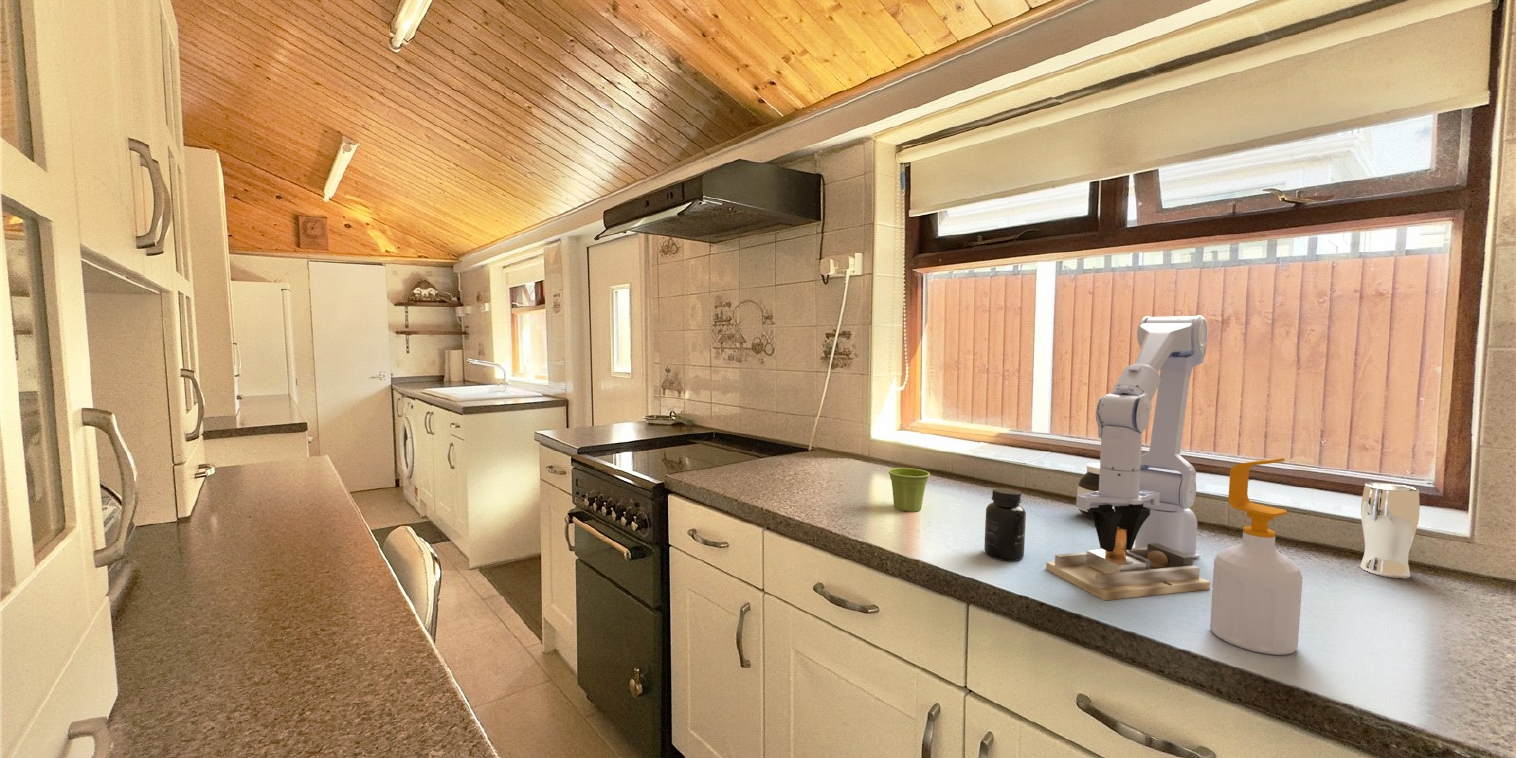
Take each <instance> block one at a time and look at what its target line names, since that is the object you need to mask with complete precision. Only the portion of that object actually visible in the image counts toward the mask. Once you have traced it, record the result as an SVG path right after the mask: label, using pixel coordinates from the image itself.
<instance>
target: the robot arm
mask: <svg viewBox="0 0 1516 758" xmlns="http://www.w3.org/2000/svg"><path fill="white" fill-rule="evenodd" d="M1207 322H1208V321H1207V319H1206V318H1205V317H1204V316H1202V315H1200V314H1198V315H1195V316H1189V315H1188V316H1149V315H1147V316H1144V317H1143V318H1142V319H1141V320H1140V321H1139V323H1138V326H1137V331H1136V332H1137V333H1136V337H1137V338H1136V339H1137V342H1138V345H1139V348H1140V349H1139V351H1138V354H1137V357H1136V359H1135V362H1134V363H1133V364H1130V365H1128V366H1126V367H1124V369H1123V371H1122V372H1121V374H1120V376H1119V378H1118V379H1117V382H1116V383H1115V385H1114V387H1113V388H1112V389H1111V392H1110V393H1108V394H1105V396H1101V397H1100V398H1099V400H1098V402H1097V404H1096V410H1095V421H1096V424H1097V436H1098V439H1100V455H1099V457H1100V458H1099V459H1100V460H1099V463H1100V477H1099V491H1095V492H1091V493H1087V494H1082V495H1077V494H1076V502H1075V506H1076V507H1077V508H1078V507H1079V508H1082V509H1085V510H1087V511H1088V513H1089V514H1090V516H1091V518H1092V519H1091V520H1092V522H1093V524H1094V528H1095V532H1096V533H1097V538H1098V541H1099V542H1098V543H1099V546H1100V547H1099V548H1100V549H1104V550H1106V551H1109V552H1113V550H1114V547H1115V539H1116V531H1117V527H1118V525H1122V526H1125V527H1127V528H1128V530H1127V550H1132V548H1141V547H1147V545H1148V544H1151V543H1158V544H1160V545H1163V546H1166V547H1168V548H1171V549H1174V550H1176V551H1179V552H1181V553H1184V554H1187V555H1189V556H1192V557H1193V559H1198V558H1200V557H1201V555H1200V554H1199V553H1197V538H1198V537H1197V536H1198V519H1197V517H1196V514H1195V513H1194V511H1193V510H1192V509H1190V508H1191V507H1192V506H1193V504H1194V503H1195V500H1196V495H1197V480H1196V479H1197V471H1196V469H1195V467H1194V466H1193V465H1192V463H1190V462H1189V461H1187V460H1186V459H1185V458H1184V457H1182V455H1181V449H1182V441H1183V433H1184V427H1185V419H1186V410H1187V403H1188V396H1189V387H1190V382H1191V381H1190V380H1191V377H1192V372H1193V369H1194V367H1197V366H1200V365H1202V364H1203V363H1204V360H1205V357H1206V355H1207V346H1208V338H1209V330H1208V329H1209V328H1208V327H1209V326H1208V323H1207ZM1156 392H1157V393H1156ZM1155 393H1156V399H1155V405H1154V408H1155V409H1154V415H1153V422H1152V431H1151V436H1150V444H1149V451H1147V452H1145V453H1143V454H1142V446H1143V445H1142V443H1143V432H1145V430H1146V429H1147V428H1148V426H1149V423H1150V422H1149V421H1150V416H1151V412H1152V408H1153V406H1152V400H1153V398H1154V396H1155ZM1153 468H1155V469H1153ZM1158 469H1160V470H1158ZM1161 469H1163V470H1164V471H1163V470H1161ZM1165 470H1169V471H1165ZM1172 471H1176V472H1172ZM1177 472H1178V473H1177ZM1113 506H1114V509H1115V511H1114V509H1112V507H1113Z"/></svg>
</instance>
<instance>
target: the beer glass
mask: <svg viewBox="0 0 1516 758" xmlns="http://www.w3.org/2000/svg"><path fill="white" fill-rule="evenodd" d="M1360 504H1361V506H1360V517H1361V518H1360V519H1361V524H1362V525H1361V526H1362V532H1363V539H1364V552H1363V553H1364V554H1363V556H1362V560H1361V562H1360V566H1359V567H1361V568H1362V569H1361V568H1360V569H1361V570H1362V571H1364V570H1365V572H1367V571H1368V572H1367V573H1369V572H1370V574H1372V575H1376V576H1380V577H1385V578H1389V579H1390V578H1392V579H1398V578H1403V579H1404V580H1405V579H1410V577H1411V571H1410V566H1409V555H1410V554H1409V553H1410V549H1411V546H1412V543H1413V541H1414V538H1415V535H1416V533H1417V532H1416V531H1417V529H1418V525H1419V521H1420V520H1419V519H1420V508H1421V507H1420V490H1419V489H1418V488H1416V487H1413V486H1407V485H1402V484H1396V483H1391V482H1390V483H1388V482H1379V481H1377V482H1375V481H1374V482H1373V481H1370V482H1365V483H1364V487H1363V492H1362V498H1361V503H1360Z"/></svg>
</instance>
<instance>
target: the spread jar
mask: <svg viewBox="0 0 1516 758" xmlns="http://www.w3.org/2000/svg"><path fill="white" fill-rule="evenodd" d="M1099 477H1100V462H1090V463H1087V464H1086V473H1085V474H1083V475H1081V477H1080V479H1079V481H1078V484H1077V491H1076V493H1077V494H1076V496H1077V495H1082V494H1087V493H1091V492H1095V491H1099ZM1077 508H1078V509H1077V510H1078V511H1079V512H1080V513H1081V515H1083V516H1084V517H1086V518H1088V519H1089V520H1092V518H1091V516H1090V514H1089V513H1088V511H1087V510H1085V509H1082V508H1079V507H1077ZM1112 509H1114V506H1113V507H1112ZM1114 511H1115V509H1114Z"/></svg>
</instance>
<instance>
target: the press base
mask: <svg viewBox="0 0 1516 758" xmlns="http://www.w3.org/2000/svg"><path fill="white" fill-rule="evenodd" d="M1127 551H1129V552H1131V553H1134V554H1136V555H1139V556H1141V557H1143V558H1146V559H1148V560H1150V570H1140V571H1129V572H1118V573H1108V574H1105V573H1103V572H1101V571H1099V570H1097V569H1095V568H1093V567H1091V566H1089V565H1087V564H1086V557H1087V551H1085V552H1072V553H1060V554H1054V555H1055V556H1054V557H1055V558H1054V561H1047V562H1045V563H1046V564H1045V569H1046V570H1047V571H1049V572H1051V573H1053V574H1055V575H1057V576H1058V577H1061V579H1064V580H1066V581H1068V582H1069V581H1070V582H1069V583H1071V582H1072V583H1071V584H1073V585H1075V586H1077V587H1079V588H1081V589H1082V588H1083V589H1082V590H1084V591H1086V592H1088V593H1090V594H1092V595H1094V596H1096V597H1097V596H1098V598H1099V599H1101V600H1103V601H1110V600H1111V601H1112V600H1120V599H1128V598H1131V599H1132V598H1138V597H1148V596H1157V595H1165V594H1166V595H1167V594H1176V593H1185V592H1193V591H1194V592H1195V591H1204V590H1210V589H1211V581H1209V580H1207V579H1205V578H1202V577H1200V569H1201V568H1200V567H1199V566H1196V565H1194V558H1193V557H1192V556H1189V555H1187V554H1184V553H1181V552H1179V551H1176V550H1174V549H1171V548H1168V547H1166V546H1163V545H1160V544H1158V543H1151V544H1148V545H1147V547H1141V548H1132V550H1127Z"/></svg>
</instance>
